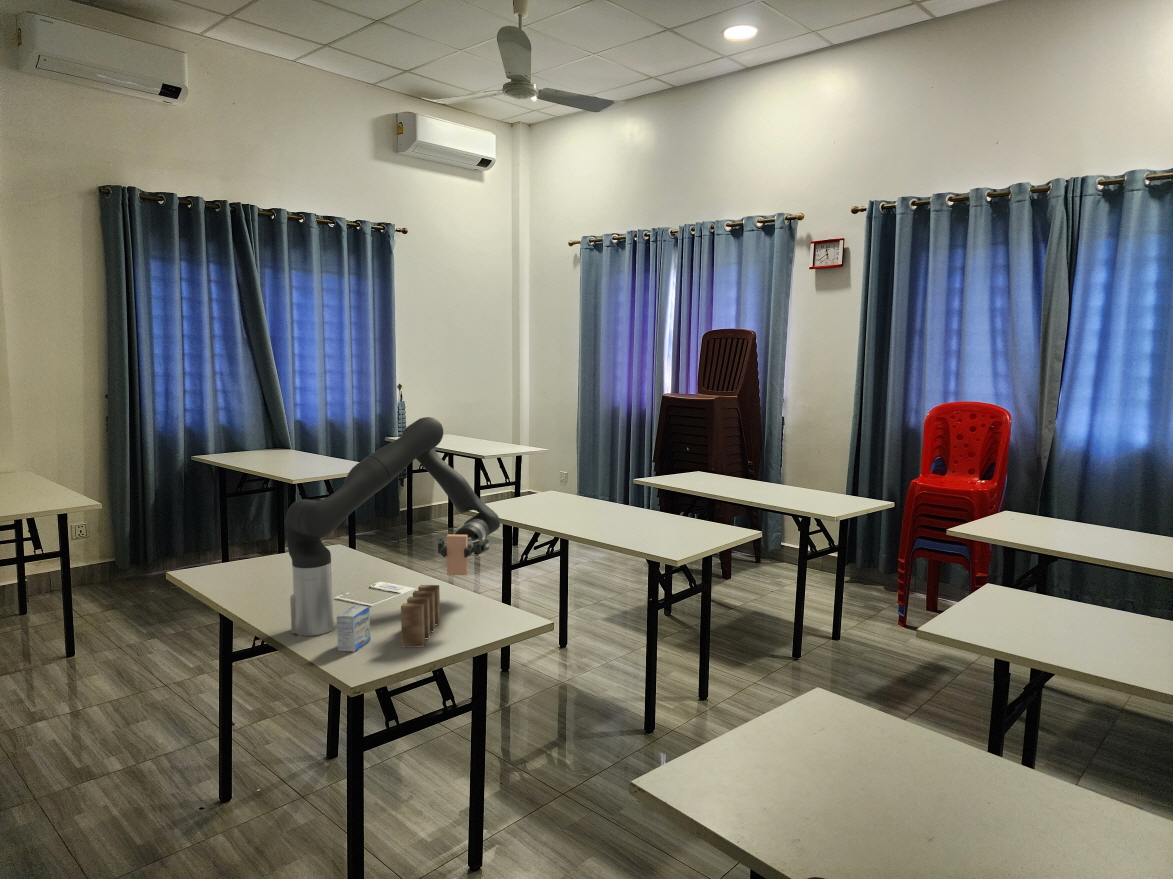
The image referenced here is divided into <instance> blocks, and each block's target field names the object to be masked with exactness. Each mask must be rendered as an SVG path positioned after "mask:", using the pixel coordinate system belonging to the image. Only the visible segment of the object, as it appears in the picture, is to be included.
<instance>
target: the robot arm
mask: <svg viewBox="0 0 1173 879" xmlns="http://www.w3.org/2000/svg"><path fill="white" fill-rule="evenodd" d="M443 437H444V427H443V425H442V423H441V422H440V421H439V420H438V419H436V418H434V417H430V416H429V417H428V416H426V417H421V418H419V419H417V420H416V421H413V422H412V423H411V424H409V425H407V427H405V429H404V430H403V431H402V434H401V436H400V437H398V438H397V439H395V440H393V441H391V442H389V443H388V444H386V445H384V446H382V447H381V448H379V449H377V450H376V451H374V452H372V453H371V454H369V455H367V456H366V457H365V458H363V459H362V460H360V461H359V462H358V463H356V464H355V465H354V466H353V467H351V469H350V470H349V472H348V473H347V476H346V478H345V480H344V482H343V484H342V485H341V486H340V487H339V488H338V489H337V490H336V491H335V492H333V493H332V494H330V495H329V496H327V497H326V498H324V499H322V500H313V499H305V498H304V499H302V498H301V499H298V500H296V501H294V502H292V504H291V505H290V506H289V508H288V509H287V512H286V515H285V532H286V543H287V551H288V554H289V557H290V558H291V568H292V587H293V588H292V589H293V590H292V591H293V594H291V596H290V598H289V602H290V621H291V622H290V623H291V624H290V626H291V629H290V630H291V634H296V635H299V636H303V637H304V636H305V637H311V636H312V637H313V636H318V635H319V636H320V635H323V634H327V633H329V632H330V631H332V630H333V629H334V605H333V604H334V603H333V577H332V576H333V575H332V574H333V573H332V553H331V551H330V550H329V548H327V547H326V545H324V543H323V541H322V540H321V539H323V538H325V537H327V536H328V535H330V534H331V533H333V531H335V530H336V529H337V528H338V527H339V526H340V525H341V524H342V523H343V522H344V521H345V519H347V518H348V517H349V516H350V515H351V514H352V513H353V512H354V511H355V510H356V509H357V508H359V507H360V506H362V505H363V504H364V503H365V502H366V501H368V500H369V499H370V498H371V497H373V496H374V495H375V494H377V493H378V492H380V491H381V490H382V489H383V488H385V487H386V486H387V485H389V484H390V483H391V482H393V480H394V479H395V478H396V477H397V476H399V475H400V474H401V473H402V472H403V471H404V470H406V468H407V467H408V466H409V465H410V464H411V463H412V462H413V461H414V460H417V462H419V464H420V465H421V466H422V467H423V468H424V469H425V470H426V471H427V472H428V473H429V474H430V476H431V477H432V478H433V479H434V480H435V481H436V483H437V484H438V485H439V486H440V488H441V489H442V490H443V492H444V493H445V495H446V496H447V497H448V499H449V500H450V502H451V503H452V504H453V506H454V507H455V509H456V510H457V511H458V513H460V514H465V513H467V512H470V511H475V512H477V514H475V515H474V516H472V517H470V518H469V519H467V520H466V521H465V522H464V524H463V525H462V526H460V528H459V529H458V530H456V531H455V533H454V535H468V546H467V547H466V548H465V549H464V557H468V558H469V557H470V556H471V555H472V556H473V555H474V554H475V553H476V555H482V554H483V553H485V552H486V551H489V550H490V539H487V537H488V536H490V535H491V534H493V533H494V532H496V531H497V530H499V528H500V526H501V520H500V517H499V515H498V513H496V512H495V511H494V509H492V508H490V507H489V506H488V505H487V504H486V503H484V502H483V500H481V499H480V498H479V497H478V495H477V494H476V493H475V491H474V490H473V488H472V487H471V485H470V483H469V482H468V481H467V480H466V478H465V477H464V476H463V475H462V474H461V473H459V472H458V471H457V470H455V469H454V468H453V467H451V466H450V465H449V464H447V463H446V462H445V461H444V460H443V459H442V458H441V456H439V454H438V453H437V450H436V449H435V448H436V447H437V446H438V445H440V443H441V441H442V440H443ZM445 540H446V539H443V538H438V539H437V553H438V554H440V555H441V556H442V558H447V546H446V541H445Z"/></svg>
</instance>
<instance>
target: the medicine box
mask: <svg viewBox="0 0 1173 879" xmlns="http://www.w3.org/2000/svg"><path fill="white" fill-rule="evenodd" d="M370 614H371V613H370V607H369V606H364V605H354V606H352V607H350V608H349V609H347V610H345V611H343V612H341V613H340V614H339V615H337V616H336V630H337V635H336V636H337V648H338V649H337V650H338V652H345V651H351V652H350V653H356V652H357V651H358V649H359V648H360V649H362V647H364V646H365V645H367V644H368V643H369V642H370V641H371V615H370ZM367 642H368V643H367ZM363 645H364V646H363ZM360 649H359V650H360ZM355 651H356V652H355Z"/></svg>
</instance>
